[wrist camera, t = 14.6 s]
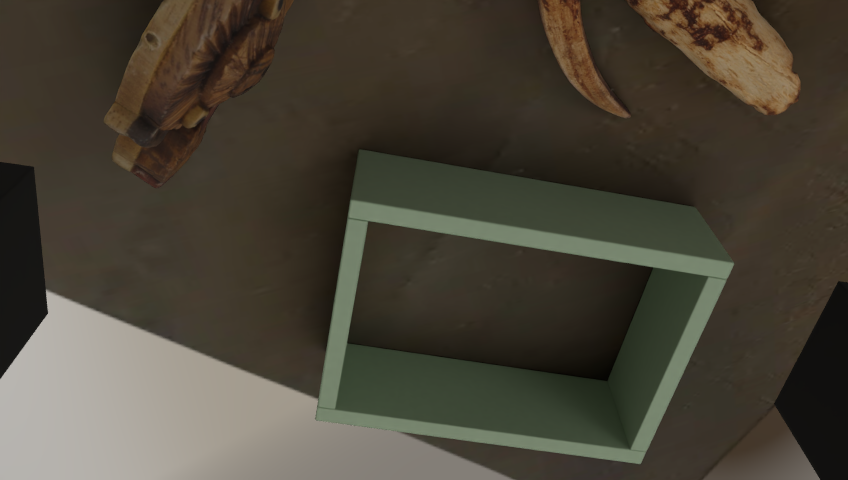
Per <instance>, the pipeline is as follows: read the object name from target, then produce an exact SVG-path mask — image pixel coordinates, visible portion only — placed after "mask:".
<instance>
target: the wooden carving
mask: <svg viewBox="0 0 848 480" xmlns="http://www.w3.org/2000/svg"><path fill="white" fill-rule="evenodd" d="M293 1H294V0H164V1H163V2H162V3H161V5H160V6H159V8H158V10H157V11H156V13H155V14H154V16H153V18H152V19H151V21H150V23H149V24H148V26H147V28H146V29H145V31H144V33H143V35H142V37H141V39H140V42H139V44H138V46H137V48H136V49H135V51H134V53H133V55H132V57H131V59H130V61H129V63H128V66H127V68H126V71H125V73H124V76H123V79H122V82H121V84H120V87H119V90H118V93H117V96H116V101H115V102H114V104H113V105H112V107H111V108H110V110H109V111H108V113H107V114H106V116H105V118H104V124H106V125H107V126H108V127H109V128H111V129H112V130H114V131H116V132H117V133H119V136H118V138H117V139H116V143H115V146H114V150H113V153H112V160H113V161H114V162H115V163H116V164H117V165H118V166H120V167H122V168H124V169H126V170H128V171H130V172H132V173H133V174H135V175H136V176H138V177H139V178H140V179H142V180H143V181H145V182H146V183H148V184H150V185H151V186H153V187H154V188H159V187H161V186H162V185H163V184H165V183H166V182H167V181H168V180H169V179H170V178H171V177H172V176H173V175H174V174H175V173H176V172H177V171H178V170H179V169H180V168H181V167H182V166H183V165H184V163H185V162H186V161H187V160H188V159H189V158H190V156H191V155H192V153H193V152H194V151H195V150H196V149H197V147H198V146H199V144H200V143H201V141H202V138H203V135H204V133H205V132H206V126H207V123H208V121H209V120H210V118H211V116H212V115H213V113H214V111H215V110H216V108H217V107H218V105H219V104H220V103H222V102H224V101H226V100H227V99H228V98H229V97H236V96H239V95H242V94H244V93H245V92H247V91H248V90H249V89H251V88H252V87H253V86H254V85H256V84H257V83H258V82H259V81H260V80H261V78H262V77H263V76H264V74H265V73H266V71H267V69H268V68H269V66H270V64H271V63H272V60H273V57H274V51H275V50H274V46H275V45H276V43H277V40H278V37H279V34H280V32H281V29H282V26H283V21H284V16H285V15H286V13H287V11H288V10H289V9H290V7H291V5H292V3H293Z"/></svg>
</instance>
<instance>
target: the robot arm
mask: <svg viewBox="0 0 848 480" xmlns="http://www.w3.org/2000/svg"><path fill="white" fill-rule="evenodd" d="M47 314H48V310H47V299H46V288H45V278H44V268H43V257H42V247H41V236H40V226H39V216H38V205H37V195H36V184H35V174H34V167H31V166H24V165H17V164H10V163H3V162H0V378H1V377H2V376H3V374H4V373H5V372H6V370H7V369H8V367H9V366H10V365H11V363H12V362H13V361H14V359H15V358H16V357H17V355H18V354H19V352H20V351H21V350H22V348H23V347H24V345H25V344H26V343H27V341H28V340H29V339H30V337H31V336H32V335H33V333H34V332H35V330H36V329H37V327H38V326H39V325H40V323H41V322H42V321H43V319H44V318H45V317H46V315H47ZM774 404H775V406H776V408H777V409H778V411H779V413H780V414H781V416H782V417H783V419H784V421H785V422H786V424H787V426H788V427H789V429H790V430H791V432H792V434H793V436H794V437H795V439H796V440H797V442H798V444H799V445H800V447H801V449H802V450H803V452H804V454H805V455H806V457H807V458H808V460H809V462H810V463H811V465H812V467H813V468H814V470H815V471H816V473H817V475H818V476H819V478H820V480H848V283H847V282H840V281H838V283H837V285H836V287H835V289H834V291H833V293H832V295H831V297H830V298H829V300H828V302H827V304H826V306H825V308H824V310H823V312H822V314H821V316H820V318H819V319H818V321H817V323H816V325H815V327H814V329H813V331H812V333H811V335H810V337H809V338H808V340H807V342H806V344H805V346H804V348H803V350H802V352H801V354H800V356H799V358H798V359H797V361H796V363H795V365H794V367H793V369H792V371H791V373H790V375H789V377H788V378H787V380H786V382H785V384H784V386H783V388H782V390H781V392H780V394H779V396H778V398H777V399H776V401H775V403H774Z"/></svg>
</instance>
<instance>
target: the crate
mask: <svg viewBox="0 0 848 480" xmlns="http://www.w3.org/2000/svg"><path fill="white" fill-rule="evenodd" d="M368 221H372V222H379V223H385V224H391V225H397V226H403V227H409V228H415V229H422V230H428V231H434V232H440V233H446V234H452V235H458V236H465V237H471V238H477V239H483V240H489V241H495V242H501V243H507V244H514V245H520V246H526V247H532V248H538V249H544V250H550V251H557V252H563V253H569V254H575V255H581V256H587V257H593V258H600V259H606V260H612V261H618V262H624V263H630V264H636V265H643V266H649V267H653V270H652V272H651V275H650V277H649V280H648V282H647V285H646V287H645V290H644V292H643V294H642V297H641V299H640V302H639V304H638V307H637V309H636V312H635V314H634V317H633V319H632V322H631V324H630V326H629V329H628V331H627V334H626V336H625V339H624V341H623V344H622V346H621V349H620V351H619V354H618V356H617V358H616V361H615V363H614V366H613V368H612V371H611V373H610V376H609V378H608V381H602V380H596V379H589V378H582V377H575V376H568V375H561V374H554V373H547V372H541V371H534V370H527V369H520V368H513V367H506V366H499V365H493V364H486V363H479V362H472V361H465V360H458V359H451V358H445V357H438V356H431V355H424V354H417V353H410V352H403V351H396V350H390V349H383V348H376V347H369V346H362V345H355V344H348V343H347V340H348V334H349V328H350V323H351V317H352V311H353V306H354V300H355V294H356V289H357V283H358V277H359V272H360V266H361V260H362V255H363V249H364V243H365V238H366V232H367V226H368ZM733 265H734V262H733V261H732V259H731V258H730V256H729V255H728V253H727V252H726V251H725V249H724V248H723V246H722V245H721V243H720V242H719V240H718V239H717V238H716V236H715V235H714V233H713V232H712V230H711V229H710V228H709V226H708V225H707V223H706V222H705V220H704V219H703V218H702V216H701V215H700V213H699V212H698V210H697V209H696V208H695V207H692V206H686V205H680V204H674V203H668V202H663V201H657V200H651V199H645V198H639V197H634V196H628V195H622V194H616V193H610V192H605V191H599V190H593V189H587V188H582V187H576V186H570V185H564V184H558V183H553V182H547V181H541V180H535V179H529V178H524V177H518V176H512V175H506V174H500V173H495V172H489V171H483V170H477V169H471V168H466V167H460V166H454V165H448V164H442V163H437V162H431V161H425V160H419V159H413V158H408V157H402V156H396V155H390V154H384V153H379V152H373V151H367V150H361V149H359V151H358V157H357V163H356V169H355V175H354V181H353V187H352V193H351V199H350V205H349V211H348V217H347V224H346V230H345V236H344V242H343V249H342V255H341V261H340V267H339V274H338V280H337V286H336V292H335V299H334V305H333V311H332V317H331V324H330V330H329V336H328V342H327V349H326V355H325V361H324V367H323V374H322V380H321V386H320V392H319V399H318V405H317V411H316V418H315V419H316V420H317V421H326V422H332V423H340V424H347V425H355V426H362V427H369V428H377V429H385V430H392V431H399V432H407V433H414V434H421V435H429V436H436V437H444V438H451V439H459V440H466V441H474V442H481V443H488V444H496V445H503V446H511V447H518V448H526V449H533V450H540V451H548V452H555V453H563V454H570V455H578V456H585V457H592V458H600V459H607V460H615V461H622V462H630V463H637V464H641V462H642V460H643V458H644V456H645V453H646V451H647V449H648V447H649V445H650V443H651V441H652V438H653V436H654V434H655V432H656V430H657V428H658V426H659V423H660V421H661V419H662V417H663V415H664V413H665V411H666V409H667V406H668V404H669V402H670V400H671V398H672V396H673V394H674V391H675V389H676V387H677V385H678V383H679V381H680V379H681V376H682V374H683V372H684V370H685V368H686V366H687V364H688V362H689V359H690V357H691V355H692V353H693V351H694V349H695V347H696V344H697V342H698V340H699V338H700V336H701V334H702V332H703V329H704V327H705V325H706V323H707V321H708V319H709V317H710V314H711V312H712V310H713V308H714V306H715V304H716V302H717V300H718V297H719V295H720V293H721V291H722V289H723V287H724V285H725V282H726V279H727V278H728V276H729V274H730V272H731V269H732V267H733Z"/></svg>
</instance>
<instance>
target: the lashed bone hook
mask: <svg viewBox="0 0 848 480" xmlns="http://www.w3.org/2000/svg"><path fill="white" fill-rule="evenodd" d="M626 1H627V2H628V5H629V6H630V7H631V8H633V9H634V10H635V11H636V12H637V13H638V14H639V15H641V17H642V18H643V19H644V21H645V23H646V24H647V25H648V26H649V27H650V28H651V29H652V30H653V31H655V32H657V33H659V34H660V35H662V36H663V37H664V38H665V39H667V40H669V41H670V42H671V43H673V44H674V45H675V46H676V47H678V48H679V49H680V50H681V51H682V52H683V53H684V54H685V55H686V56H687V57H688V58H689V59H690V60H691V61H692V62H693V63H694V64H695V65H696V66H698V67H699V68H700V69H701V70H702V71H703V72H704V73H705V74H706V75H708V76H709V77H710V78H712V79H714V80H716V81H717V82H719V83H720V84H721V85H723V86H724V87H726V88H727V89H728V90H729V91H731V92H732V93H733V94H734V95H735V96H736V97H738V98H739V99H741V100H742V101H743V102H744V103H746V104H747V105H752V106H753V107H754V108H755V109H756V110H757V111H758V112H761V113H763V114H765V115H777V114H780V113H782V112H784V111H786V110H787V109H788V107H789V106H790V105H791V104H793V103H795V102H797V101H798V100H799V95H800V89H801V85H800V79H799V77H798V74H797V73H795V72H793V71H792V66H793V55H792V53H791V52H790V50H789V49H788V47H787V46H786V44H785V42H784V40H783V39H782V38H781V37H780V35H779V34H778V33H777V31H776V30H775V29H774V28H773V27H772V26H771V25H770V24H769V23H768V22H767V21H766V20H765V19H764V18H763V17H762V16H761V15H760V14H759V13H758V11H757V9H756V6H755V4H754V2H753V1H752V0H626ZM538 5H539V11H540V17H541V20H542V24H543V28H544V30H545V33H546V36H547V39H548V42H549V44H550V47H551V49H552V51H553V53H554V56H555V58H556V60H557V62H558V64H559V66H560V68H561V69H562V71H563V73H564V74H565V76H566V77H567V79H568V80H569V82H570V83H571V84H572V85H573V86H574V87H575V88H576V89H577V90H578V91H579V93H581V94H582V95H583V96H584V97H585V98H586V99H587V100H589V101H590V102H592V103H593V104H595V105H596V106H598V107H599V108H601V109H603V110H605V111H607V112H609V113H612V114H614V115H617V116H619V117H623V118H629V117H631V114H630V112H629V110H628V109H627V107H626V106H625V105H624V104H623V103H622V102H621V101H620V100H619V98H618V97H617V96H616V95H615V94H614V93H613V92H612V90H611V89H610V88H609V86H608V85H607V83H606V82H605V80H604V79H603V77H602V75H601V73H600V72H599V70H598V68H597V66H596V63H595V61H594V58H593V56H592V53H591V50H590V46H589V43H588V40H587V37H586V34H585V30H584V26H583V21H582V15H581V5H580V0H538Z"/></svg>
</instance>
